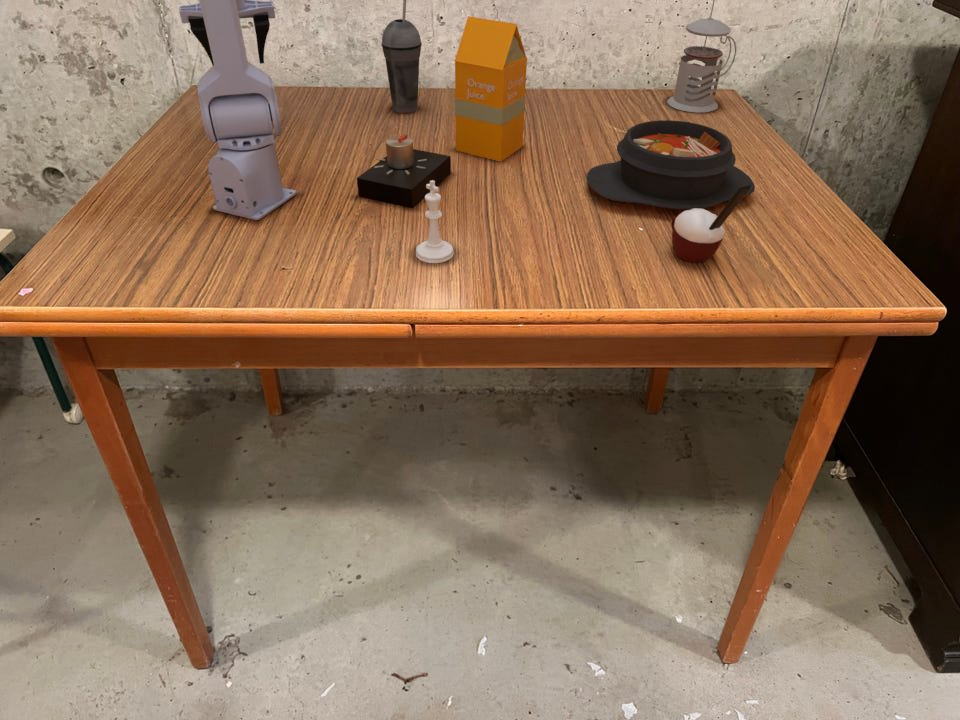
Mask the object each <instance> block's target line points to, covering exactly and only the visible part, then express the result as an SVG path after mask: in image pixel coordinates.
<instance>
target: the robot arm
mask: <svg viewBox="0 0 960 720" xmlns="http://www.w3.org/2000/svg"><path fill="white" fill-rule="evenodd" d="M198 1H199V3H193V4H188V5H179V6H178V13H179V17H180V20H181V23H182V24H189V27H190V31H191V33H192V34H193V35H194V38H196V39H197V40H198V42H199V43H200V44H201V46H202V48H203V49H204V51H205V52H206V54H207V56H208V58H209V60H210V62H211V67H209V69H208V70H207V71H206V72H205V73H204V74H203V75H202V76H201V77H200V78H199V80H198V84H197V86H196V87H197V88H196V89H197V96H198V101H199V108H200V109H199V110H200V116H201V119H202V124H203V128H204V131H205V134H206V137H207V139H208V140H209V141H211V142H212V143H217V145H218V150H217V152H216V153H215V155H214V156H212V157H211V158H210V159H209V161H208V164H207V172H208V177H209V181H210V184H211V188H212V192H213V196H214V200H215V204H214V205H213V206H212V209H213V211H217V212H220V213H224V214H229V215H232V216H237V217H241V218H246V219H248V220H249V219H250V220H254V221H259V220H261V219H262V218H264V217H266V216H267V215H269V214H270V213H272V212H273V211H274V210H275V209H277V208H279V207H281V206H282V205H283V204H285V203H286V202H287V201H289V200H290V199H292V198H294V196H296V195H297V194H298V192H297V190H295V189H290V188H286V187H284V186H283V181H282V175H281V170H280V165H279V164H280V163H279V159H278V154H277V153H278V152H277V148H276V140H275V137H280V136H281V133H282V132H283V128H282V122H281V121H282V120H281V115H280V110H279V104H278V98H277V94H276V90H275V88H274V83H273V79H272V78H271V77H270V74H268V73H267V72H265V71H264V70H262V69H261V68H259V67H257V66H256V65H254V64H252V63H251V62H250V61H249V60H248V56H247V51H246V46H245V40H244V35H243V30H242V29H243V28H242V25H241V20H240V19H252V20H253V26H254V31H255V36H256V37H255V38H256V46H257V55H258V59H259V64H261V65H262V64H265V46H266V41H267V38H268V37H267V36H268V34H269V31H270V26H271V24H270V19H276V18H277V17H276V11H275V5H274V2H273V1H271V0H270V1H266V0H265V1H264V0H198Z"/></svg>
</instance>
